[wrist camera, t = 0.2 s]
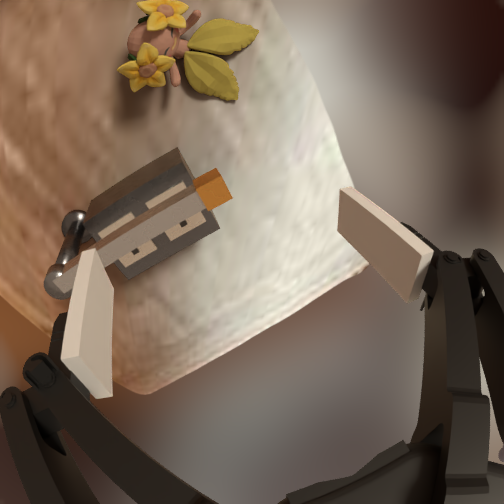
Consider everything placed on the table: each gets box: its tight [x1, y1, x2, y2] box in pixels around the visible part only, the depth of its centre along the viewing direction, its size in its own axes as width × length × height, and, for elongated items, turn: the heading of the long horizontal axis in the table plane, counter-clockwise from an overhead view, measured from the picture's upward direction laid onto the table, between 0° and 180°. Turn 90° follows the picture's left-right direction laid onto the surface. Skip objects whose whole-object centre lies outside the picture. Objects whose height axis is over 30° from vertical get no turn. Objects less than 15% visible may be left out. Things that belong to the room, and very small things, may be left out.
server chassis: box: [83, 147, 220, 280], centre depth 38 cm, size 10×14×8 cm
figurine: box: [117, 0, 259, 101], centre depth 28 cm, size 12×9×15 cm
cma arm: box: [44, 168, 232, 300], centre depth 29 cm, size 4×23×2 cm, turn 113°
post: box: [56, 210, 92, 264], centre depth 34 cm, size 5×5×11 cm
